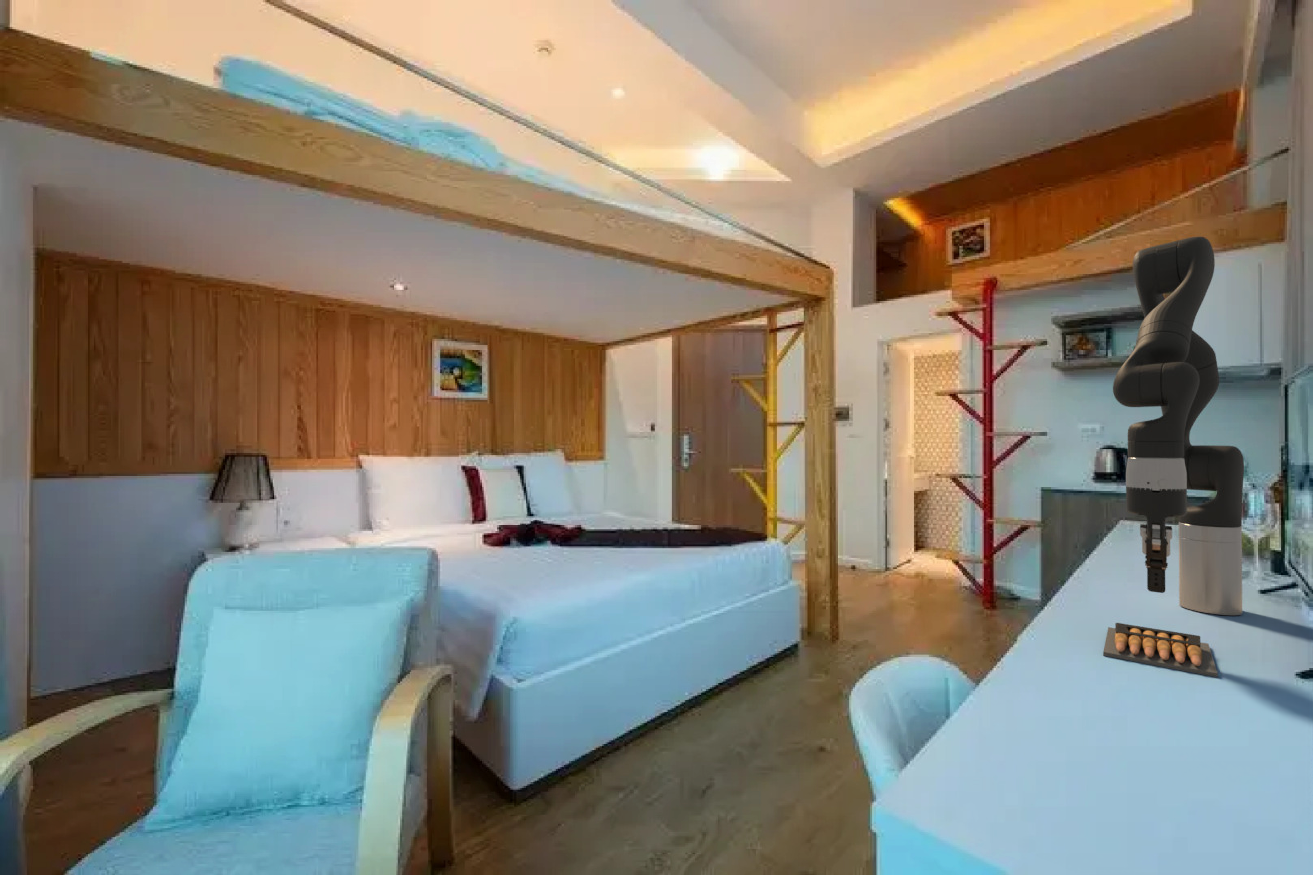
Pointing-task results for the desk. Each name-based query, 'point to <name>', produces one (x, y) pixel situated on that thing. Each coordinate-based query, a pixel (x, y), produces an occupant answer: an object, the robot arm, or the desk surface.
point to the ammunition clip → (1158, 642)
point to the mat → (1204, 668)
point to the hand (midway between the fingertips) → (1156, 591)
